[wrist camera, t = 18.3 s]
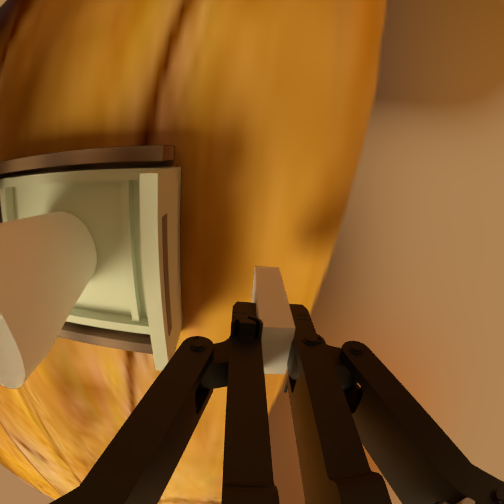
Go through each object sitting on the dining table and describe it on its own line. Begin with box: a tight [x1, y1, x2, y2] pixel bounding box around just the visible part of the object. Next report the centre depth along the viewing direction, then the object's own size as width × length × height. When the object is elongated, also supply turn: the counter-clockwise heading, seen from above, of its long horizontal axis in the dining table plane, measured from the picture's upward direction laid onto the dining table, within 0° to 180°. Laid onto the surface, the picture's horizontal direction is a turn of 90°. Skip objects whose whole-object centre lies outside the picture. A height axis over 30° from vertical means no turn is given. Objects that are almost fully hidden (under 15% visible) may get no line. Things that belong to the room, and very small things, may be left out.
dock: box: [0, 145, 175, 354], centre depth 19 cm, size 18×16×3 cm
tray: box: [0, 166, 183, 370], centre depth 18 cm, size 17×13×6 cm
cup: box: [0, 212, 97, 389], centre depth 14 cm, size 9×9×12 cm
